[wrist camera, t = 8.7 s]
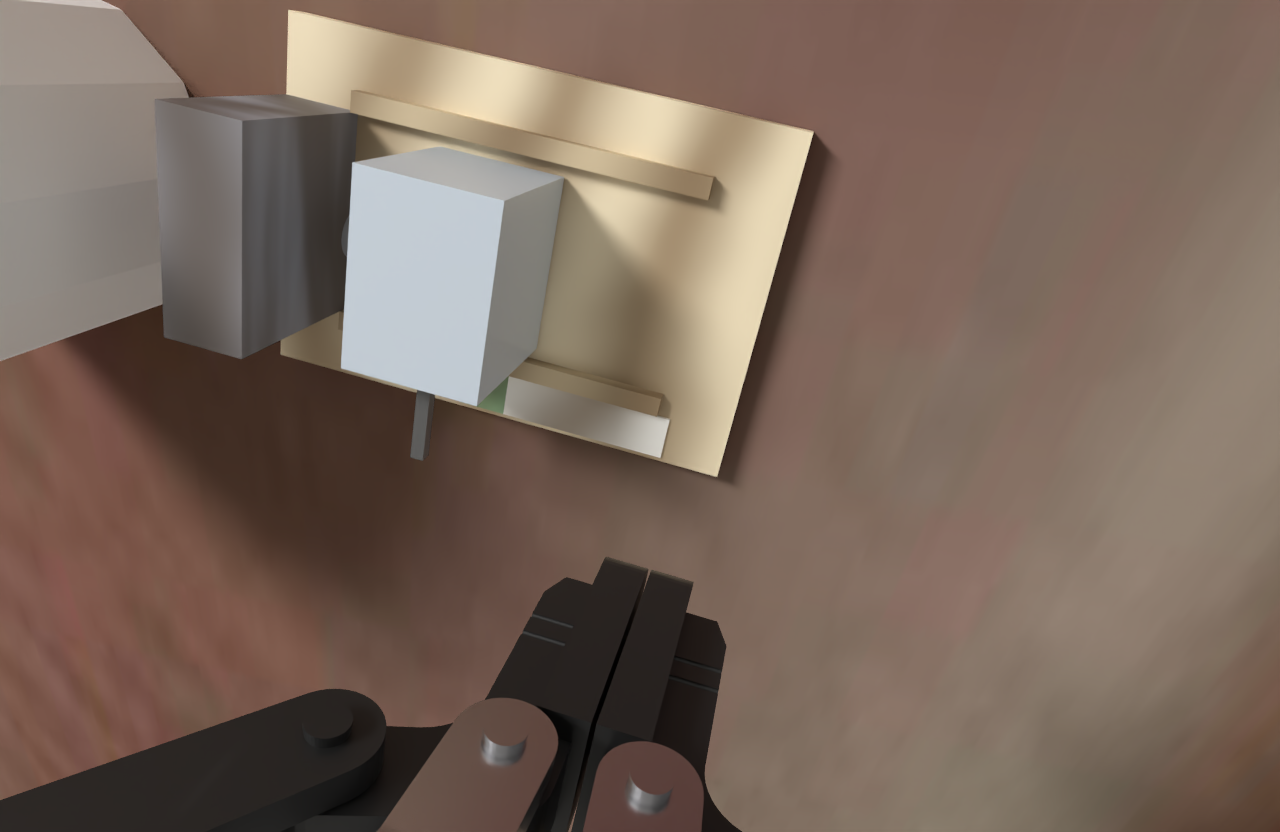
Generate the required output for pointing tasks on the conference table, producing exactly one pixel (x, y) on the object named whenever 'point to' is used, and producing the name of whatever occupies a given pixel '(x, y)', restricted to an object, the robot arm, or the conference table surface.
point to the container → (76, 169)
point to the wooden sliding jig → (583, 245)
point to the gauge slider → (445, 273)
